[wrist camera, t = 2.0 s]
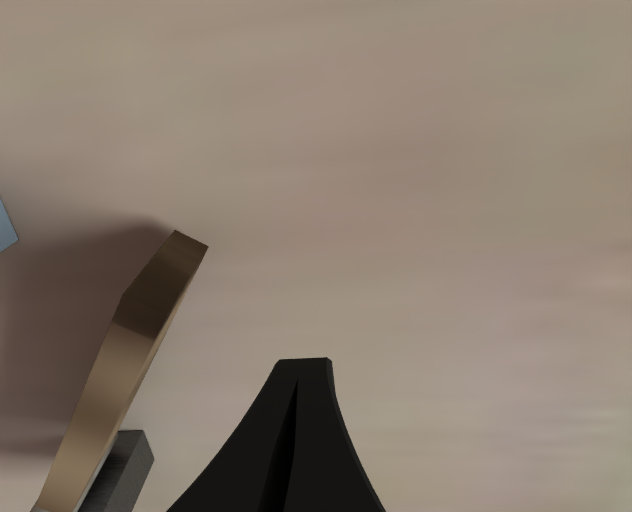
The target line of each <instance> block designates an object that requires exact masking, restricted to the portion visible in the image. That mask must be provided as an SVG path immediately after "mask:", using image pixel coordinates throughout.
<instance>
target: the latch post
mask: <svg viewBox="0 0 632 512" xmlns="http://www.w3.org/2000/svg"><path fill="white" fill-rule="evenodd" d="M17 240H18V237H17V235H16V233H15V231H14V228H13V226H12V224H11V222H10V219H9V217H8V215H7V213H6V210H5V208H4V206H3V204H2V201H1V199H0V252H1V251H3V250H4V249H6V248H7V247H9V246H10V245H12V244H13V243H15V242H16V241H17Z"/></svg>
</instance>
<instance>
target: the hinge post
mask: <svg viewBox="0 0 632 512" xmlns="http://www.w3.org/2000/svg"><path fill="white" fill-rule="evenodd" d="M117 432H118V438H117V440H116V442H115V443H114V445H113V447H112V449H111V451H110V453H109V454H108V456H107V458H106V460H105V462H104V464H103V465H102V467H101V469H100V471H99V473H98V475H97V476H96V478H95V480H94V482H93V484H92V486H91V487H90V489H89V491H88V493H87V495H86V497H85V498H84V500H83V502H82V504H81V506H80V508H79V509H78V511H77V512H132V510H133V508H134V505H135V503H136V501H137V498H138V496H139V494H140V492H141V489H142V487H143V485H144V482H145V480H146V478H147V475H148V473H149V471H150V469H151V466H152V464H153V462H154V457H153V454H152V452H151V449H150V447H149V444H148V441H147V439H146V436H145V434H144V431H117Z"/></svg>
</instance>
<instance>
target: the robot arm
mask: <svg viewBox="0 0 632 512" xmlns="http://www.w3.org/2000/svg"><path fill="white" fill-rule="evenodd" d="M166 512H386V511H385V509H384V507H383V506H382V504H381V502H380V500H379V498H378V496H377V494H376V493H375V491H374V489H373V487H372V485H371V483H370V481H369V479H368V477H367V475H366V473H365V471H364V469H363V467H362V465H361V462H360V460H359V458H358V456H357V453H356V451H355V449H354V446H353V444H352V441H351V439H350V437H349V434H348V431H347V429H346V426H345V423H344V420H343V417H342V414H341V411H340V408H339V405H338V402H337V398H336V393H335V384H334V376H333V367H332V361H331V360H330V359H328V358H327V357H324V358H303V359H281V360H279V361H278V362H277V363H276V364H275V366H274V368H273V370H272V372H271V373H270V375H269V377H268V379H267V381H266V382H265V384H264V386H263V387H262V389H261V391H260V392H259V394H258V396H257V397H256V399H255V400H254V402H253V404H252V405H251V407H250V408H249V410H248V411H247V413H246V414H245V416H244V417H243V419H242V420H241V422H240V423H239V425H238V426H237V428H236V429H235V430H234V432H233V433H232V434H231V436H230V437H229V438H228V440H227V441H226V442H225V444H224V445H223V447H222V448H221V449H220V451H219V452H218V453H217V455H216V456H215V457H214V458H213V460H212V461H211V462H210V463H209V465H208V466H207V467H206V468H205V469H204V471H203V472H202V473H201V474H200V475H199V476H198V477H197V479H196V480H195V481H194V482H193V483H192V484H191V486H190V487H189V488H188V489H187V490H186V491H185V492H184V493H183V494H182V495H181V496H180V497H179V498H178V499H177V501H176V502H175V503H174V504H173V505H172V506H171V507H170V508H169V509H168V510H167V511H166Z"/></svg>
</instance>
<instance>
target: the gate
mask: <svg viewBox="0 0 632 512" xmlns="http://www.w3.org/2000/svg"><path fill="white" fill-rule="evenodd" d="M208 247H209V246H207V245H205V244H203V243H201V242H199V241H197V240H195V239H193V238H191V237H188V236H186V235H184V234H182V233H180V232H178V231H176V230H175V231H174V232H173V233H172V234H171V236H170V237H169V238H168V239H167V241H166V242H165V243H164V244H163V246H162V247H161V248H160V249H159V251H158V252H157V253H156V254H155V255H154V257H153V258H152V259H151V260H150V262H149V263H148V264H147V265H146V267H145V268H144V269H143V270H142V272H141V273H140V274H139V275H138V276H137V278H136V279H135V280H134V281H133V283H132V284H131V285H130V286H129V288H128V289H127V290H126V291H125V293H124V294H123V295H122V298H121V300H120V302H119V305H118V307H117V310H116V312H115V314H114V317H113V319H112V322H111V324H110V327H109V329H108V331H107V334H106V336H105V339H104V341H103V344H102V346H101V348H100V351H99V353H98V356H97V358H96V360H95V363H94V365H93V368H92V370H91V373H90V375H89V377H88V380H87V382H86V385H85V387H84V389H83V392H82V394H81V397H80V399H79V402H78V404H77V406H76V409H75V411H74V414H73V416H72V418H71V421H70V423H69V426H68V428H67V431H66V433H65V435H64V438H63V440H62V443H61V445H60V447H59V450H58V452H57V455H56V457H55V460H54V462H53V464H52V467H51V469H50V472H49V474H48V476H47V479H46V481H45V484H44V486H43V489H42V491H41V493H40V496H39V498H38V500H37V502H36V503H35V505H34V506H33V508H32V509H31V511H30V512H77V511H78V509H79V508H80V506H81V504H82V502H83V500H84V498H85V497H86V495H87V493H88V491H89V489H90V487H91V486H92V484H93V482H94V480H95V478H96V476H97V475H98V473H99V471H100V469H101V467H102V465H103V464H104V462H105V460H106V458H107V456H108V454H109V453H110V451H111V449H112V447H113V445H114V443H115V442H116V440H117V438H118V432H117V431H118V429H119V427H120V425H121V423H122V421H123V419H124V417H125V415H126V413H127V411H128V409H129V407H130V405H131V403H132V401H133V399H134V397H135V395H136V393H137V391H138V389H139V387H140V385H141V383H142V381H143V379H144V377H145V375H146V373H147V371H148V369H149V366H150V364H151V362H152V360H153V358H154V356H155V354H156V352H157V350H158V348H159V346H160V344H161V342H162V340H163V338H164V336H165V334H166V332H167V330H168V328H169V326H170V324H171V322H172V320H173V318H174V316H175V314H176V312H177V310H178V308H179V306H180V304H181V302H182V300H183V298H184V296H185V293H186V291H187V289H188V287H189V285H190V283H191V281H192V279H193V277H194V275H195V273H196V271H197V269H198V267H199V265H200V263H201V261H202V259H203V257H204V255H205V253H206V251H207V249H208Z"/></svg>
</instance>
